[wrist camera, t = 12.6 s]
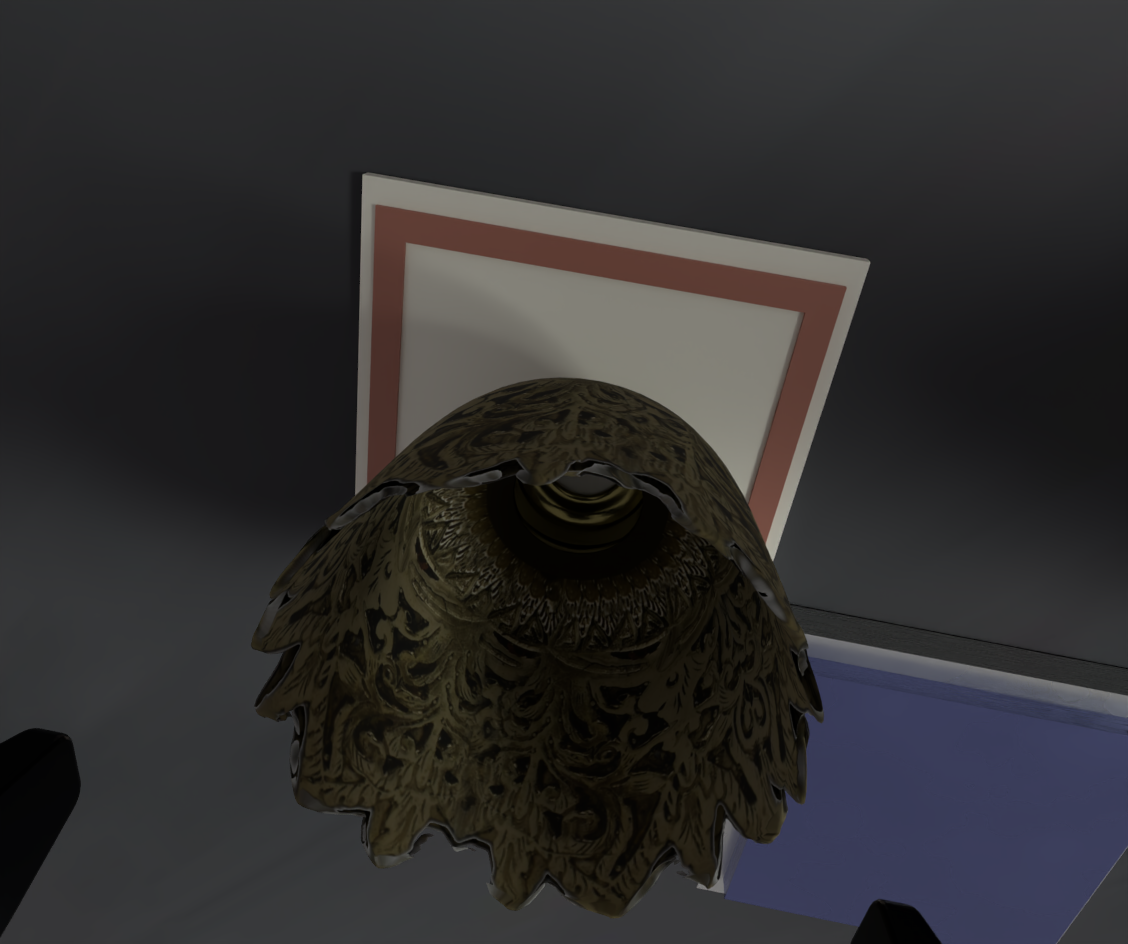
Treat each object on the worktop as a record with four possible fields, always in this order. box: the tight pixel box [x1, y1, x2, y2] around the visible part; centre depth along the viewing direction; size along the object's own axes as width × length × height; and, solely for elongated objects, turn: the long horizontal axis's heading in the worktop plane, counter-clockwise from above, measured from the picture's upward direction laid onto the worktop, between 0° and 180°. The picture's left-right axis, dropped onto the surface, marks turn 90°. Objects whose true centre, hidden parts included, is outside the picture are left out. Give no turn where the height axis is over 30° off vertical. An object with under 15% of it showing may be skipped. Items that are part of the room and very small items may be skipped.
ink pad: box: [697, 605, 1128, 944], centre depth 20 cm, size 10×9×2 cm
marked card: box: [355, 172, 871, 561], centre depth 17 cm, size 10×10×1 cm
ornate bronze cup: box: [251, 377, 824, 918], centre depth 14 cm, size 8×7×8 cm
